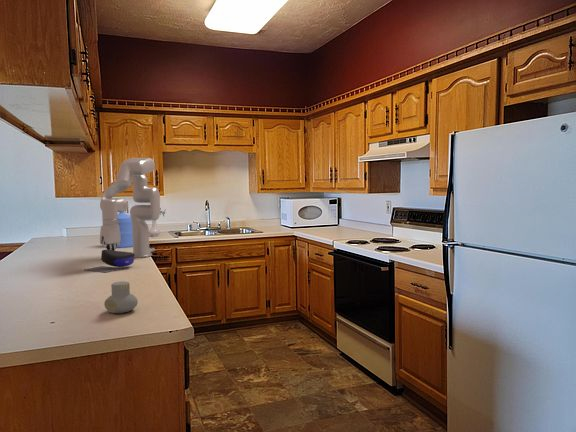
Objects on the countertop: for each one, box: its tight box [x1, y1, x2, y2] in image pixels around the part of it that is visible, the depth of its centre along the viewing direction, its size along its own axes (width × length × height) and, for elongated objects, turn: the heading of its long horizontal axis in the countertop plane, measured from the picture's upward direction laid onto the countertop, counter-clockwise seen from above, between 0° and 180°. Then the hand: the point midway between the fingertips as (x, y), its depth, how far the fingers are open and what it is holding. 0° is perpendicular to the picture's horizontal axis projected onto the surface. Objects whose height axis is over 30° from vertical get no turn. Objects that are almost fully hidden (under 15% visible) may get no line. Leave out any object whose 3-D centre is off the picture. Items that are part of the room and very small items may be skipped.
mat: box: [83, 265, 124, 274], centre depth 229 cm, size 11×16×1 cm
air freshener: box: [104, 281, 139, 314], centre depth 153 cm, size 11×8×10 cm
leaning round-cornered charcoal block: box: [100, 249, 135, 268], centre depth 231 cm, size 16×5×9 cm
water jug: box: [116, 211, 133, 249], centre depth 313 cm, size 16×16×28 cm
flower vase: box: [149, 207, 166, 238], centre depth 375 cm, size 13×18×25 cm
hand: (111, 256), depth 233 cm, fingers closed
